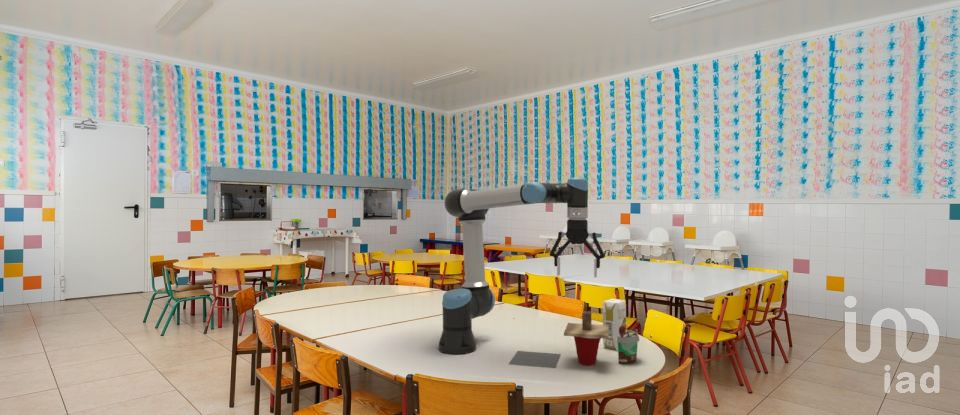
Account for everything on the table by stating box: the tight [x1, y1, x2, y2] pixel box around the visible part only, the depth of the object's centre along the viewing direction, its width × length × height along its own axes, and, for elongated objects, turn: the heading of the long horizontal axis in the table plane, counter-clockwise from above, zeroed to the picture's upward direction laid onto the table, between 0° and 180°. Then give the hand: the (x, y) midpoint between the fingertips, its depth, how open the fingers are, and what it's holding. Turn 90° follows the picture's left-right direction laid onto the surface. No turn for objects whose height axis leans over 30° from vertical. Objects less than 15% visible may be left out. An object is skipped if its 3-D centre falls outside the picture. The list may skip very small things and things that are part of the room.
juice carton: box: [602, 298, 627, 351], centre depth 204 cm, size 8×9×19 cm
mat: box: [508, 350, 562, 369], centre depth 188 cm, size 17×17×1 cm
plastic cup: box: [573, 336, 602, 367], centre depth 183 cm, size 11×11×12 cm
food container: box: [617, 329, 640, 365], centre depth 186 cm, size 12×6×10 cm, turn 148°
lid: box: [563, 310, 609, 339], centre depth 182 cm, size 15×15×7 cm
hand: (576, 276), depth 189 cm, fingers open, 13 cm apart
